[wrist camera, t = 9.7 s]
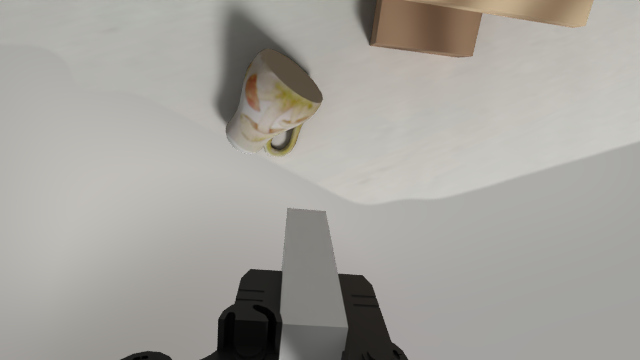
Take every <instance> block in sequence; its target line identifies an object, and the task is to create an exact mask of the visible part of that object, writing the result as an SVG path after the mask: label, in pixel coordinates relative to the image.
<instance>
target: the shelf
mask: <svg viewBox="0 0 640 360" xmlns="http://www.w3.org/2000/svg"><path fill="white" fill-rule="evenodd" d="M407 1H413V2H419V3H425V4H431V5H437V6H443V7H450V8H456V9H462V10H468V11H474V12H480V13H486V14H492V15H498V16H505V17H511V18H517V19H523V20H529V21H535V22H541V23H547V24H554V25H560V26H566V27H572V28H575V27H581V26H585V25H586V22H587V19H588V16H589V13H590V10H591V7H592V4H593V0H407Z"/></svg>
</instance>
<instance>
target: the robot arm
mask: <svg viewBox="0 0 640 360" xmlns="http://www.w3.org/2000/svg"><path fill="white" fill-rule="evenodd" d="M121 360H172V359H171V358H170V357H169V356H167V355H165V354H163V353H161V352H152V351H146V352H141V353H136V354H132V355H130V356H128V357H126V358H123V359H121ZM201 360H408V359H407V357H406V355H405V354H404V352H403V351H402V350H401V349H400V348H399V347H398V346H396V345H395V344H394V343H392V342H391V340H390V337H389V334H388V331H387V328H386V325H385V322H384V319H383V316H382V313H381V311H380V308H379V304H378V301H377V299H376V296H375V293H374V290H373V287H372V285H371V284H370V283H369V282H368V281H367V280H366V279H365V277H364V276H363V275H350V274H338V272H337V267H336V263H335V257H334V252H333V247H332V242H331V237H330V231H329V226H328V222H327V216H326V211H316V210H304V209H291V208H288V209H287V219H286V229H285V240H284V251H283V262H282V271H272V270H256V269H250V270H249V271H248V272H247V273H246V274H245V275H244V276H243V277H242V278H241V281H240V285H239V289H238V293H237V296H236V301H235V304H234V305H231V306H230V307H228V308H227V309H226V310H224V311H223V312H222V314H221V316H220V317H219V319H218V346H217V351H215V352H214V353H212V354H211V355H209V356H207V357H205V358H203V359H201Z"/></svg>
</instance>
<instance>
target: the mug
mask: <svg viewBox="0 0 640 360" xmlns="http://www.w3.org/2000/svg"><path fill="white" fill-rule="evenodd" d="M322 100H323V98H322V94H321V92H320V90H319V88H318V87H317V85H316V84H315V83H314V81H313V80H312V79H311V78H310V77H309V76H308V75H307V74H306V73H305V72H304V71H303V70H302V69H301V68H300V67H299V66H298V65H297V64H296V63H295V62H293V61H292V60H291V59H289V58H288V57H286V56H285V55H283V54H281V53H279V52H276V51H274V50H271V49H264V50H262V51H261V52H259V53H258V55H257V56H256V57H255V58H254V60H253V61H252V62H251V64H250V65H249V67H248V69H247V72H246V75H245V78H244V83H243V87H242V93H241V97H240V102H239V106H238V109H237V111H236V113H235V115H234V116H233V118H232V119H231V120H230V122H229V123H228V124H227V126H226V135H227V139H228V141H229V142H230V144H231V145H232V146H233V147H234V148H235V149H237V150H238V151H240V152H243V153H247V154H250V153H257V152H259V151H260V150H261V149H262V147H264V149H265V152H266V153H267V154H268V155H270V156H273V157H282V156H285V155H286V154H288V153H289V152H290V151H291V150H292V149H293V147H294V145H295V144H296V141H297V138H298V134H299V132H300V129H301V127H302V124H303V123H304V122H305V121H306V120H308V119H309V118H310V117H311V116H312V115H313V114H314V113H315V112H316V111H317V109H318V108H319V106H320V105H321V102H322ZM291 128H293V131H292V135H291V138H290V141H289V143H288V144H287V146H286V147H285V148H283V149H281V150H277V149H274V148H272V147H271V141H272V138H273V137H274V136H276V135H278V134H280V133H283V132H285V131H287V130H289V129H291Z"/></svg>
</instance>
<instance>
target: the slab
mask: <svg viewBox="0 0 640 360" xmlns="http://www.w3.org/2000/svg"><path fill="white" fill-rule="evenodd" d="M481 17H482V13H480V12H474V11H468V10H462V9H456V8H450V7H443V6H437V5H431V4H425V3H419V2H413V1H407V0H377V1H376V8H375V14H374V21H373V27H372V34H371V41H370V46H377V47H384V48H392V49H399V50H406V51H414V52H421V53H429V54H436V55H443V56H451V57H458V58H459V57H469V56H473V52H474V47H475V43H476V39H477V34H478V30H479V25H480V21H481Z"/></svg>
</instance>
